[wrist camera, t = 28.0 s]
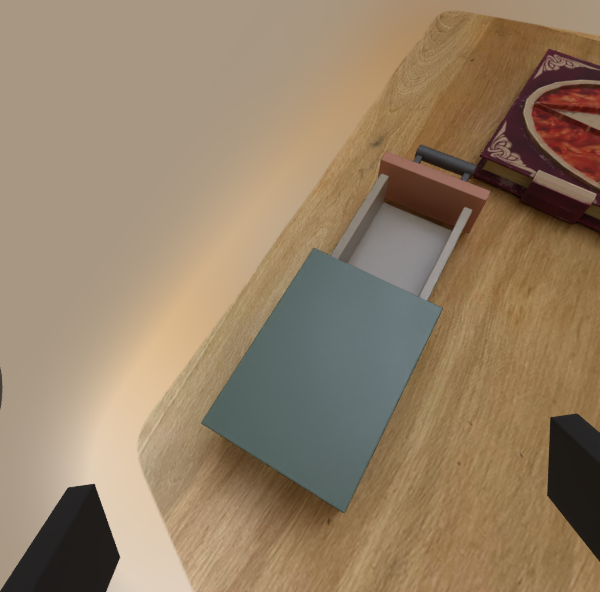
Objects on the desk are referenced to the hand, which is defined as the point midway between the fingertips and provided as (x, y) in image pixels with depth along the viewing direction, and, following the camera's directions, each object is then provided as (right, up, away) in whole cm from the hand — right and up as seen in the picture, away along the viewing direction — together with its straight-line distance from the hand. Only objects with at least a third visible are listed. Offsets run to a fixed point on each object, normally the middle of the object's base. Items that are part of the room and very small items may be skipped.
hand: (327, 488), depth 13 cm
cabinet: (+2, -2, +26) cm, 26 cm away
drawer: (+10, +11, +31) cm, 34 cm away
